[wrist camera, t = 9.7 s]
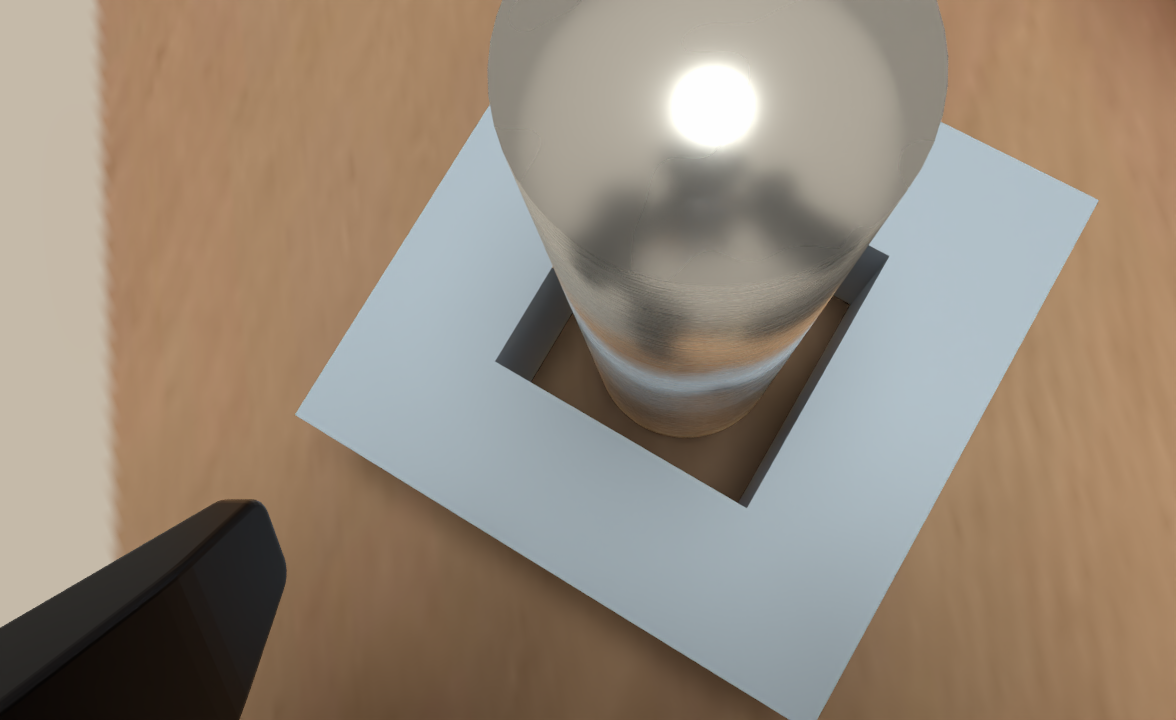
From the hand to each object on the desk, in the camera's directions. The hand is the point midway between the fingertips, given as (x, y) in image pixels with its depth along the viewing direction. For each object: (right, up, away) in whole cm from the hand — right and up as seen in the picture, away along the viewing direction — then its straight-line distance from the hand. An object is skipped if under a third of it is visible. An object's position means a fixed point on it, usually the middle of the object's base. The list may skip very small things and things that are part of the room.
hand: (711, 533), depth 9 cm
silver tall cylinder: (+1, +2, +13) cm, 13 cm away
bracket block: (+1, +2, +13) cm, 13 cm away
